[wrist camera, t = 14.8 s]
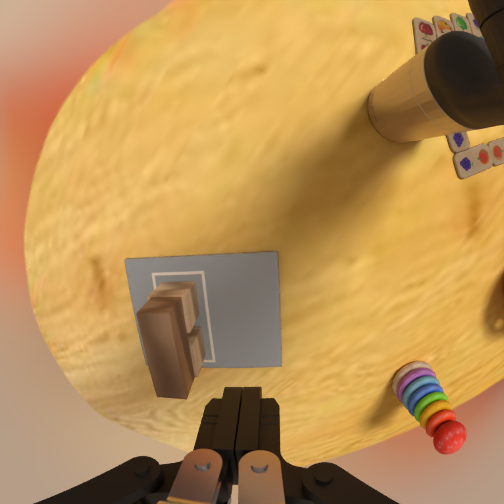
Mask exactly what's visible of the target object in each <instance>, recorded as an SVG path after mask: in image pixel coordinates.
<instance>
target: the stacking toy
mask: <svg viewBox="0 0 504 504" xmlns="http://www.w3.org/2000/svg"><path fill="white" fill-rule="evenodd" d="M392 389H393V392H394V394H395V395H396V396H397V397H398V399H399V400H400V401H401V402H402V403H403V405H404V406H405V408H406V409H408V411H409V413H410V414H411V415H413V416H415V419H416V420H417V421H418V422H420V425H421V426H422V427H423V428H424V429H426V432H427V434H428V435H429V436H430V437H434V439H433V443H434V447H435V449H436V450H437V451H438V452H439V453H441V454H452V453H454V452H456V451H457V450H459V449H460V448H461V447H462V445H463V444H464V442H465V440H466V429H465V428H464V426H463V425H462V424H461V423H459V422H457V421H456V415H455V413H454V412H453V411H452V410H451V404H450V403H449V402H448V398H447V396H446V395H445V394H444V392H443V389H442V388H441V386H440V383H439V381H438V380H437V379H436V375H435V373H434V372H433V370H432V368H431V366H430V365H429V364H428V363H426V362H424V361H415V362H412V363H409V364H407V365H406V366H404V367H403V368H402V369H400V370H399V372H398V373H397V374H396V376H395V377H394V380H393V383H392Z"/></svg>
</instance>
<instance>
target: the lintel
mask: <svg viewBox="0 0 504 504" xmlns="http://www.w3.org/2000/svg"><path fill="white" fill-rule="evenodd" d="M136 315H137V319H138V324H139V329H140V333H141V337H142V342H143V346H144V350H145V354H146V358H147V362H148V366H149V370H150V373H151V377H152V381H153V384H154V388H155V391H156V395H157V397H164V398H177V399H187V397H188V394H189V392H190V389H191V386H192V383H193V381H194V378H195V375H194V370H193V364H192V359H191V353H190V348H189V342H188V336H187V330H186V324H185V318H184V312H183V305H182V298H181V297H151V298H150V299H149V300H148V301H147V302H146V303H145V304H144V306H143V307H142V308H141V309H140V310H139V311H138V312H137V313H136Z"/></svg>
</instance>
